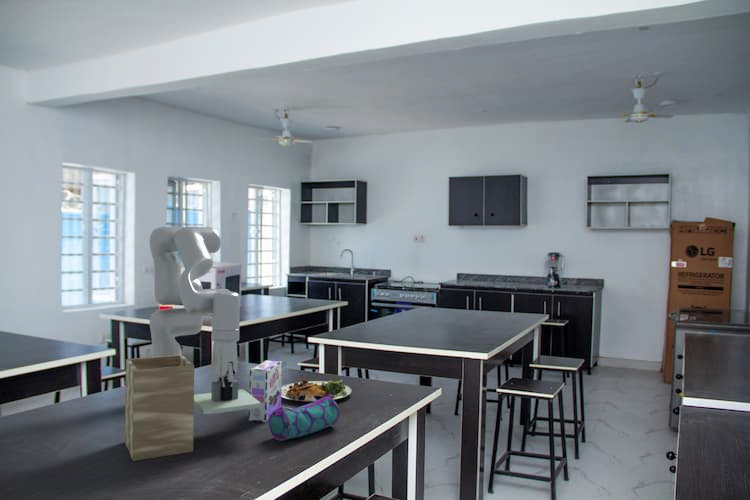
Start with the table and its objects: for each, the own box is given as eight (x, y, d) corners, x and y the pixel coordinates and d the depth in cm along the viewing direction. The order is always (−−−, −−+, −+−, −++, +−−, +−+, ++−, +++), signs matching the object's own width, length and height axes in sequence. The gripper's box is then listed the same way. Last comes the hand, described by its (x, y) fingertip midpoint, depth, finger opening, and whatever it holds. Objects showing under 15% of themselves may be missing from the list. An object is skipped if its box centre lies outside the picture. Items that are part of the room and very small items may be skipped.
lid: (189, 402, 171) (190, 378, 171) (243, 395, 179) (243, 372, 179) (203, 417, 157) (203, 392, 157) (260, 410, 166) (261, 385, 165)
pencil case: (287, 446, 162) (288, 411, 162) (267, 438, 168) (268, 405, 168) (340, 428, 178) (341, 397, 177) (320, 421, 184) (321, 391, 183)
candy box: (265, 423, 181) (266, 370, 180) (248, 421, 182) (249, 368, 182) (281, 409, 195) (282, 360, 194) (265, 408, 196) (266, 359, 195)
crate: (124, 442, 162) (125, 359, 161) (180, 433, 170) (181, 354, 169) (132, 461, 149) (133, 371, 149) (193, 451, 157) (194, 365, 156)
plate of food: (366, 393, 217) (366, 377, 217) (319, 411, 194) (319, 392, 194) (307, 384, 232) (307, 368, 232) (257, 399, 209) (257, 382, 209)
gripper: (205, 331, 173) (204, 393, 173) (220, 341, 159) (219, 408, 159) (230, 329, 177) (229, 390, 177) (247, 339, 163) (246, 404, 163)
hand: (224, 398), depth 168 cm, fingers closed on lid, 2 cm apart
